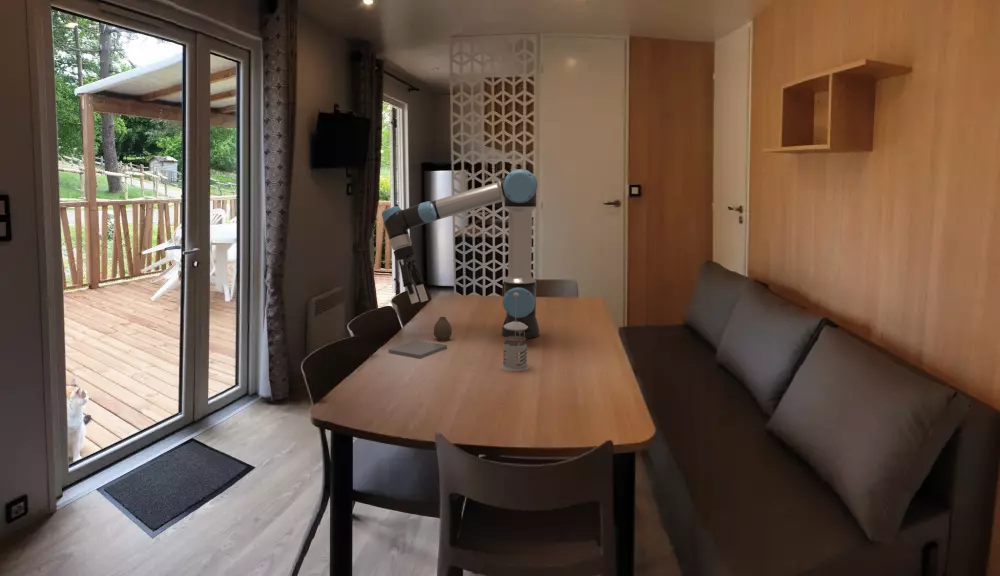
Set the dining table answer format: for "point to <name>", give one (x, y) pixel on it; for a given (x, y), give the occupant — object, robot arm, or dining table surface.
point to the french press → (515, 347)
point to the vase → (442, 329)
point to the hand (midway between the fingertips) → (420, 302)
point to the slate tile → (417, 349)
